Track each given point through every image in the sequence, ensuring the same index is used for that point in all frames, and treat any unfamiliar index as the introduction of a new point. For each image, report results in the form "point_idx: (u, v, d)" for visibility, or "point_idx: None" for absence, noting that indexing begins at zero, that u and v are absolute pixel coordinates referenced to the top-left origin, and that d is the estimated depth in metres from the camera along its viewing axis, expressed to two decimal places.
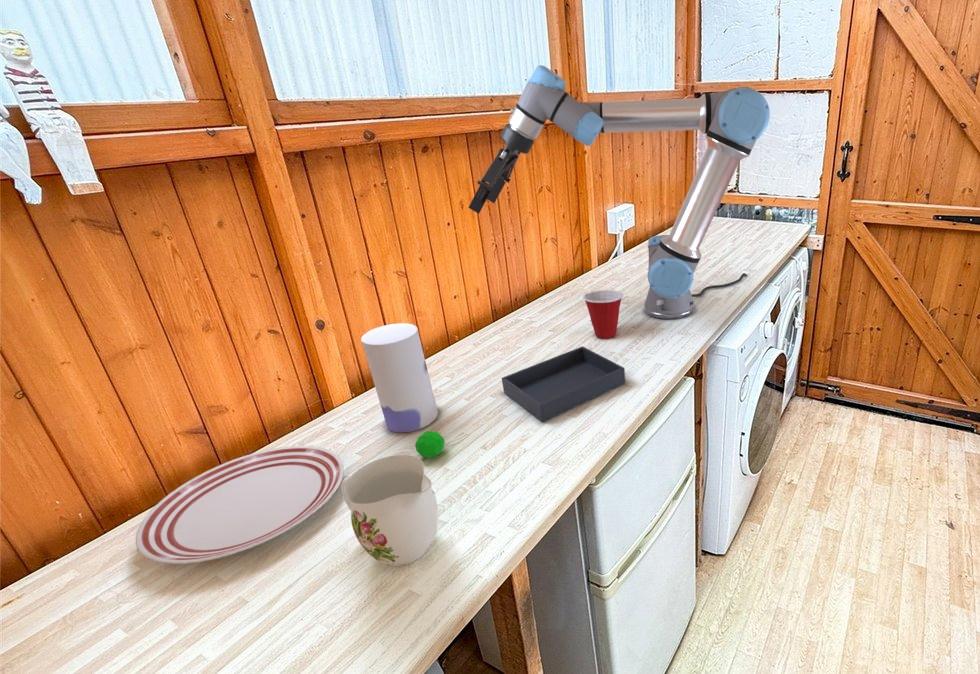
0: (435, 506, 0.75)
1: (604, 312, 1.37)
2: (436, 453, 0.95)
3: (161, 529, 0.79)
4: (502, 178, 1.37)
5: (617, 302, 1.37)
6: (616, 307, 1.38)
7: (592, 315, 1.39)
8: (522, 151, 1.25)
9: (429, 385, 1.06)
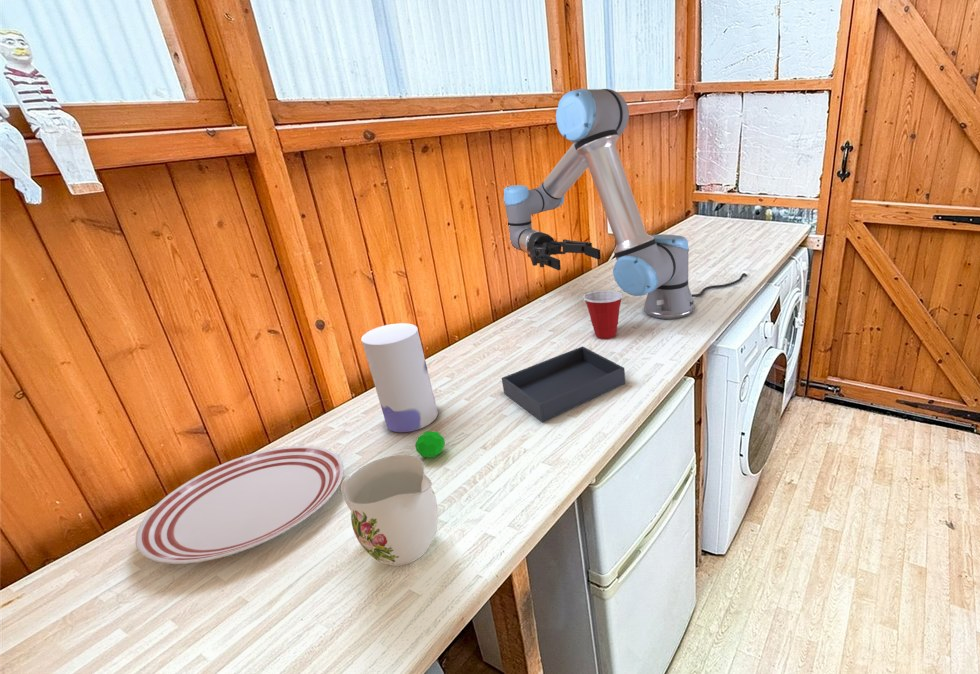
0: (435, 506, 0.75)
1: (604, 312, 1.37)
2: (436, 453, 0.95)
3: (161, 529, 0.79)
4: None
5: (617, 302, 1.37)
6: (616, 307, 1.38)
7: (592, 315, 1.39)
8: (536, 238, 1.51)
9: (429, 385, 1.06)
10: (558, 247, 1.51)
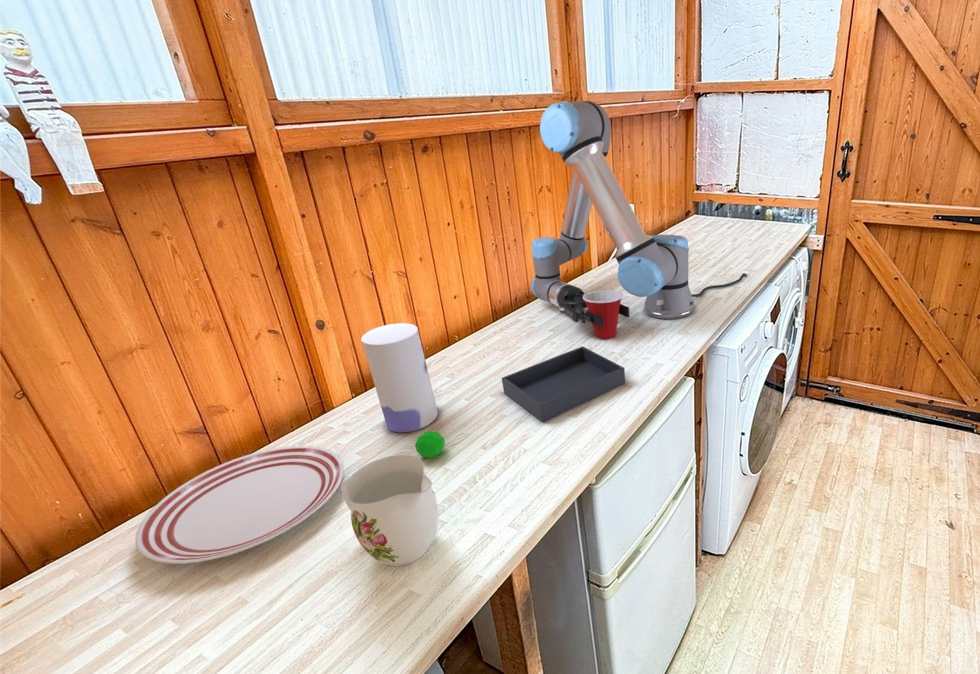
0: (435, 506, 0.75)
1: (603, 312, 1.37)
2: (436, 453, 0.95)
3: (161, 529, 0.79)
4: None
5: (617, 302, 1.37)
6: (616, 307, 1.38)
7: None
8: (566, 293, 1.49)
9: (429, 385, 1.06)
10: None
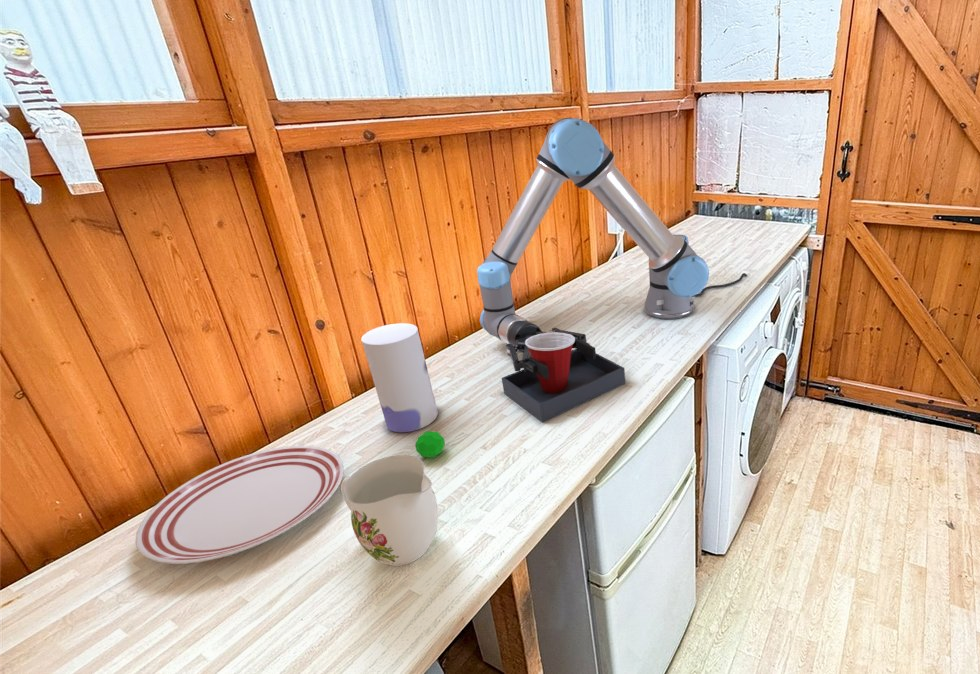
0: (435, 506, 0.75)
1: (550, 361, 1.10)
2: (436, 453, 0.95)
3: (161, 529, 0.79)
4: None
5: (567, 349, 1.11)
6: (566, 355, 1.12)
7: None
8: (517, 331, 1.22)
9: (429, 385, 1.06)
10: None
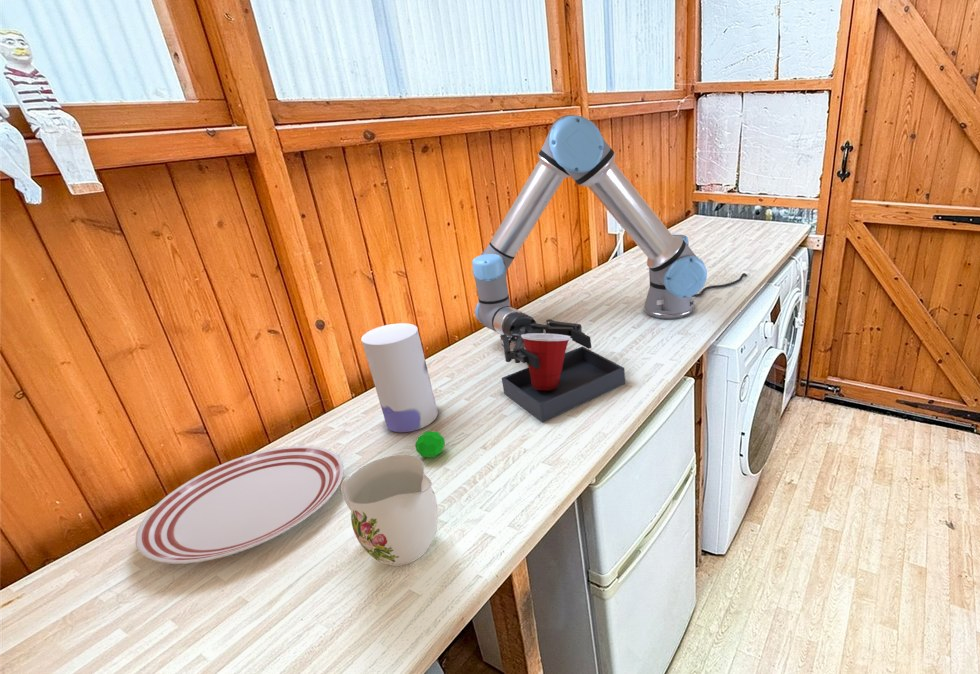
0: (435, 506, 0.75)
1: (543, 353, 1.11)
2: (436, 453, 0.95)
3: (161, 529, 0.79)
4: None
5: (561, 344, 1.12)
6: (559, 350, 1.12)
7: None
8: (512, 322, 1.23)
9: (429, 385, 1.06)
10: (539, 332, 1.22)
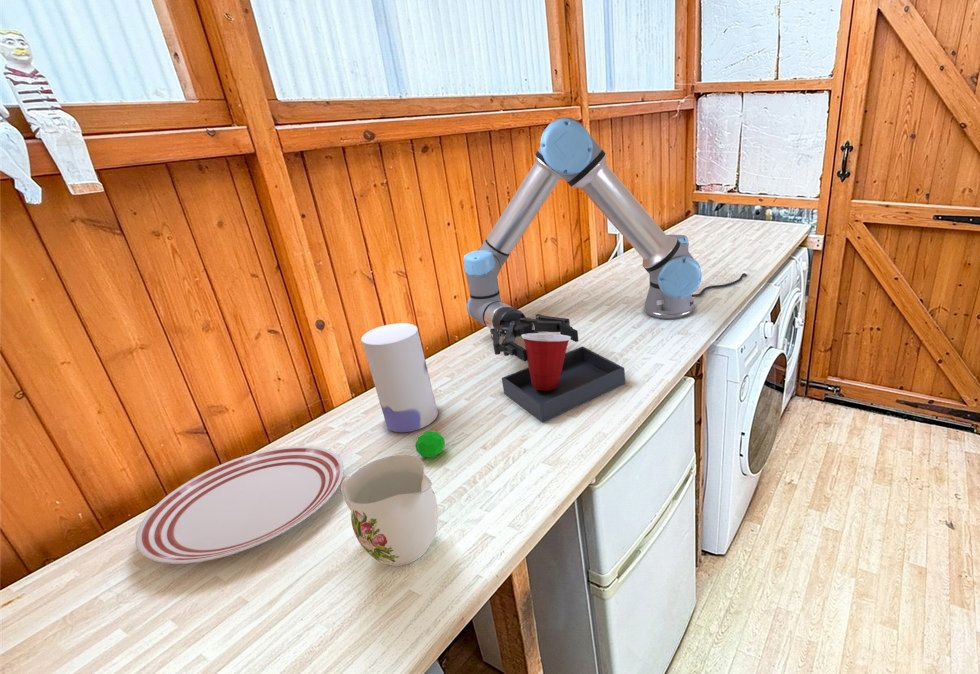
0: (435, 506, 0.75)
1: (543, 353, 1.11)
2: (436, 453, 0.95)
3: (161, 529, 0.79)
4: None
5: (561, 344, 1.12)
6: (559, 350, 1.12)
7: (529, 358, 1.12)
8: (502, 316, 1.26)
9: (429, 385, 1.06)
10: (528, 326, 1.25)
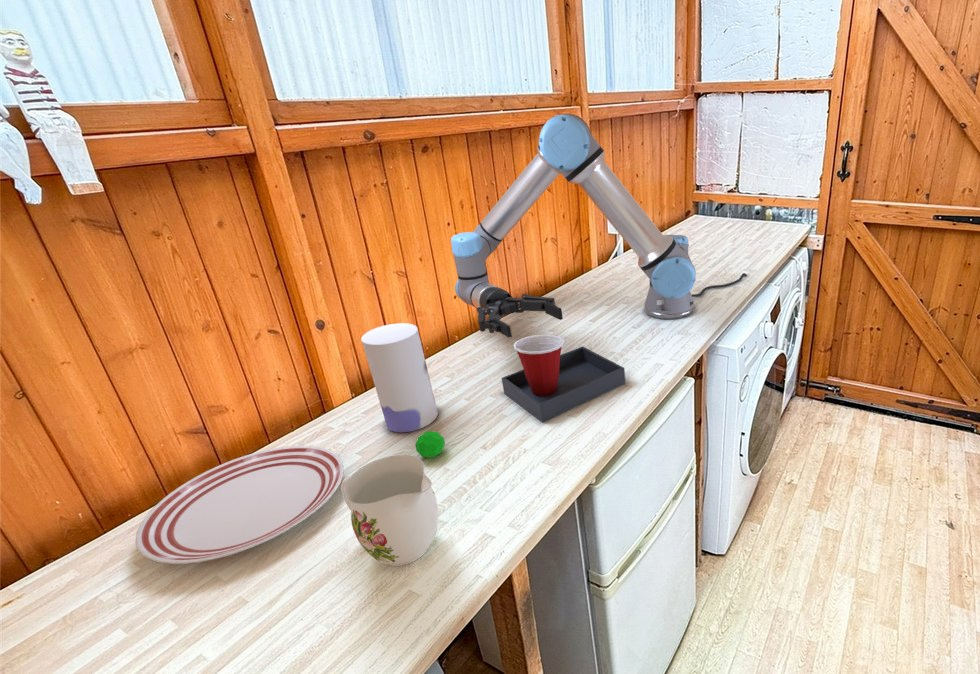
0: (435, 506, 0.75)
1: (537, 364, 1.09)
2: (436, 453, 0.95)
3: (161, 529, 0.79)
4: None
5: (554, 353, 1.10)
6: (553, 359, 1.10)
7: (524, 367, 1.11)
8: (488, 296, 1.29)
9: (429, 385, 1.06)
10: (514, 305, 1.28)
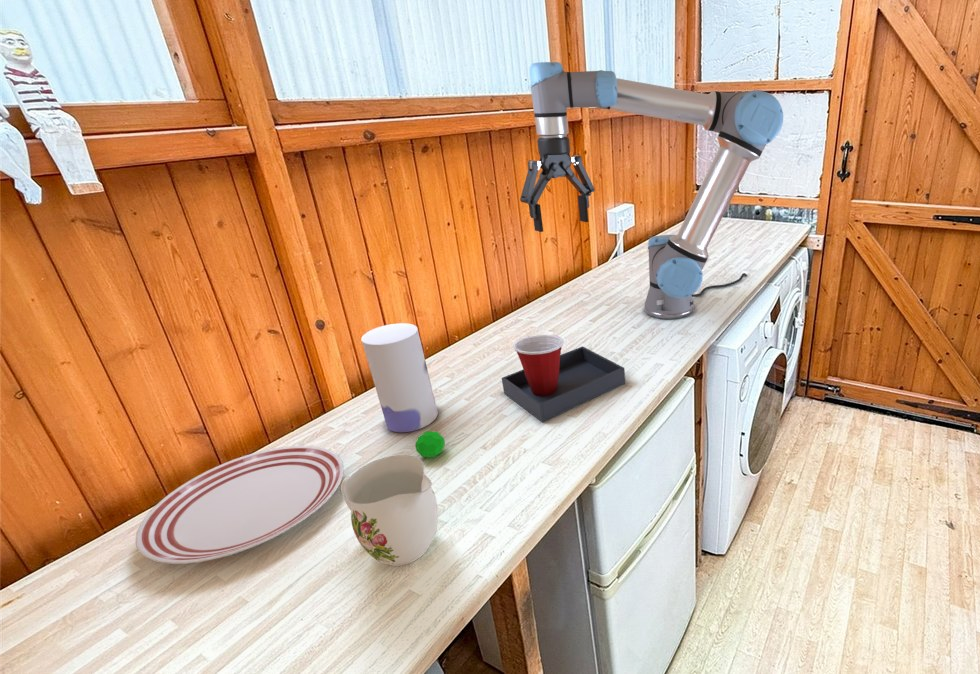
0: (435, 506, 0.75)
1: (536, 365, 1.09)
2: (436, 453, 0.95)
3: (161, 529, 0.79)
4: (583, 194, 1.32)
5: (554, 353, 1.10)
6: (553, 359, 1.10)
7: (524, 367, 1.11)
8: (552, 153, 1.20)
9: (429, 385, 1.06)
10: (563, 176, 1.26)
